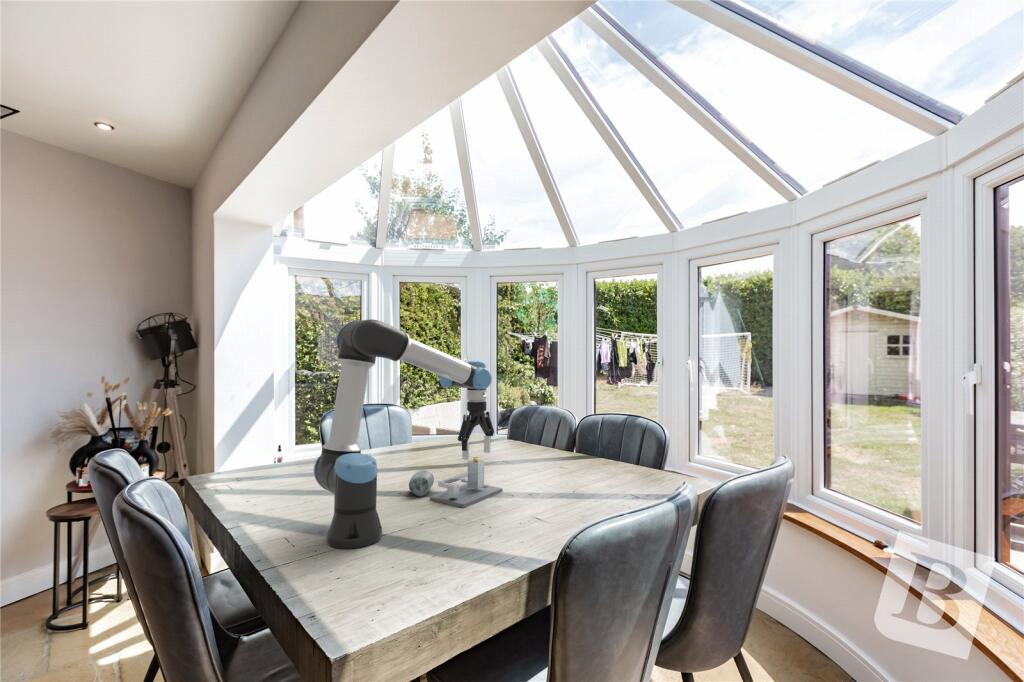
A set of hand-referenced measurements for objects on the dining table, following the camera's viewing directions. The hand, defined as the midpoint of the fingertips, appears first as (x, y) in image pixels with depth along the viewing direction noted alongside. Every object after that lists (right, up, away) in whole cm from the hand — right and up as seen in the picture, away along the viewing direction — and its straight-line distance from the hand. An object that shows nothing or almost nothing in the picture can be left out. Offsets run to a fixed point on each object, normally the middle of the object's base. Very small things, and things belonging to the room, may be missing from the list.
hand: (476, 455), depth 182 cm
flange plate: (-3, -14, -3) cm, 15 cm away
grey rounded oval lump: (-21, -15, 0) cm, 26 cm away
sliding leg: (-2, -13, 0) cm, 13 cm away
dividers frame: (-4, -13, -2) cm, 14 cm away
